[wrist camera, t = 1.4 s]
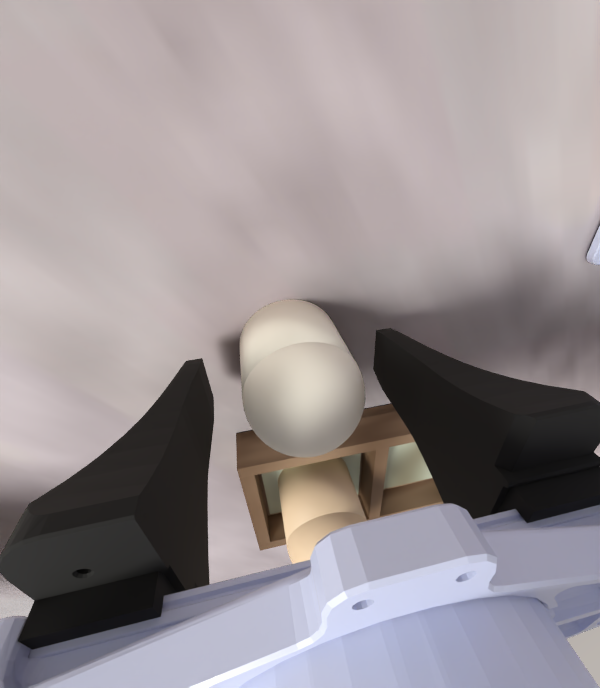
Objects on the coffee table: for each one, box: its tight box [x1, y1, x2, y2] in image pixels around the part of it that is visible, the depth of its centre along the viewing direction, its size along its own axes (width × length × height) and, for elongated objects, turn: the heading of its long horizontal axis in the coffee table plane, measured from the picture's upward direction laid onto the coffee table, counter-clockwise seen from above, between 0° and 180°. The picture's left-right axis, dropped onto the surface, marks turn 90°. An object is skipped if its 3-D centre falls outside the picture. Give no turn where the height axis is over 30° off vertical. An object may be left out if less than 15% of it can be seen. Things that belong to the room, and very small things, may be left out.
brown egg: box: [278, 458, 367, 564], centre depth 16 cm, size 4×4×6 cm
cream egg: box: [239, 299, 365, 458], centre depth 12 cm, size 4×4×6 cm
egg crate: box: [236, 404, 444, 550], centre depth 19 cm, size 14×8×2 cm, turn 94°
